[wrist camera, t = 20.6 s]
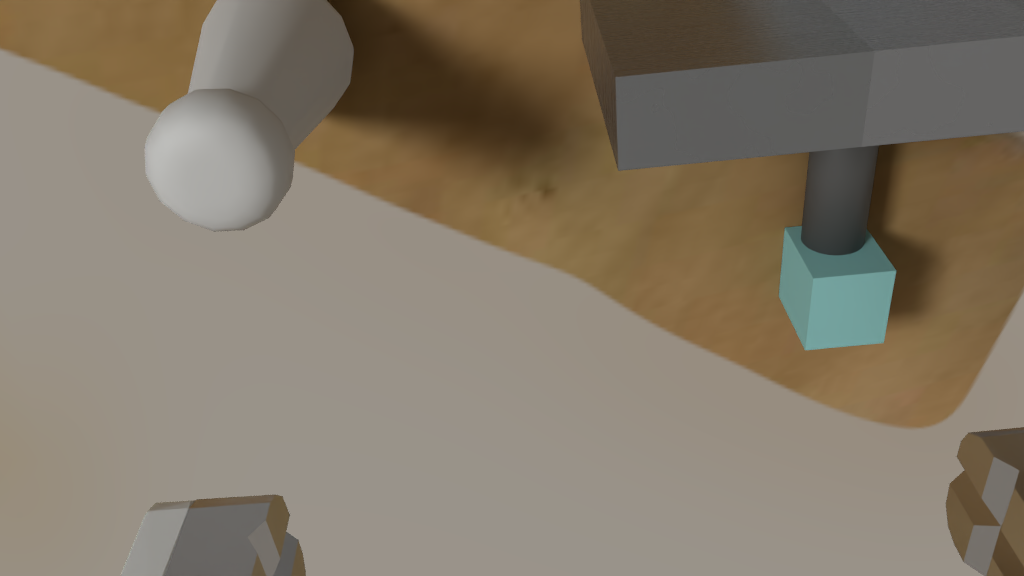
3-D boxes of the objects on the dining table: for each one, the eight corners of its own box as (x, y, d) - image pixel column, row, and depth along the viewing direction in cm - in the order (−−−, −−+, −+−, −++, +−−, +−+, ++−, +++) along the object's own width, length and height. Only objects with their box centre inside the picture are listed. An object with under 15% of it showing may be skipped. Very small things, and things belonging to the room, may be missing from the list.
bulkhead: (578, -34, 36) (615, 77, 26) (1088, -88, 35) (1327, 5, 25) (582, 39, 37) (618, 170, 27) (1068, -10, 37) (1285, 105, 27)
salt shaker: (219, -53, 35) (102, 67, 24) (366, -25, 36) (317, 104, 25) (217, 88, 38) (113, 248, 27) (352, 111, 39) (303, 276, 28)
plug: (801, 43, 38) (835, 82, 34) (887, 34, 38) (930, 73, 34) (778, 296, 45) (805, 350, 41) (850, 289, 45) (883, 342, 41)
